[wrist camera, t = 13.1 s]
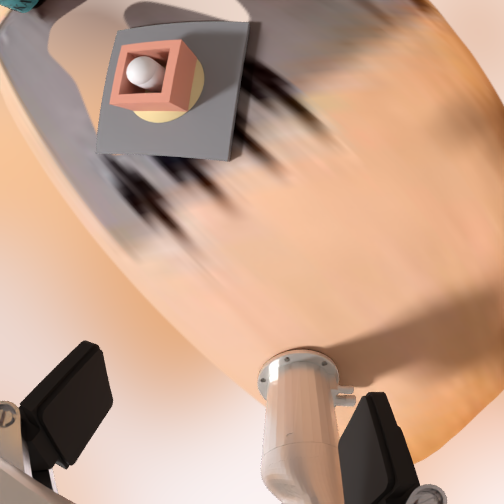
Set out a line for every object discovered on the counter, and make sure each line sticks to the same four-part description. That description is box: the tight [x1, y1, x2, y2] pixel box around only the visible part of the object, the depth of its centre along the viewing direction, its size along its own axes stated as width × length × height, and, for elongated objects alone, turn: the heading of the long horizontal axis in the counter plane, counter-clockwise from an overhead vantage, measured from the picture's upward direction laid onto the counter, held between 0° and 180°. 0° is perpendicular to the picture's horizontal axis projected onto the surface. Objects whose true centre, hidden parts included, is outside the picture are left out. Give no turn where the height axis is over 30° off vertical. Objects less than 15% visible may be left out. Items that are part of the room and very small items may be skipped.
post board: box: [95, 21, 250, 161], centre depth 26 cm, size 18×18×9 cm
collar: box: [109, 39, 197, 112], centre depth 26 cm, size 7×7×6 cm
